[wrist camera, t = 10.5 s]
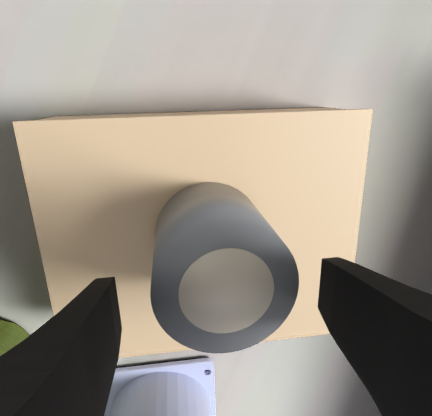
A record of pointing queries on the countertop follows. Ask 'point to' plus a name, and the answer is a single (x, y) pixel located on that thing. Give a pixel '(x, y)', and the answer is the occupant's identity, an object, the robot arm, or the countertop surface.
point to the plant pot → (10, 335)
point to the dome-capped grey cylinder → (219, 271)
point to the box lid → (182, 178)
